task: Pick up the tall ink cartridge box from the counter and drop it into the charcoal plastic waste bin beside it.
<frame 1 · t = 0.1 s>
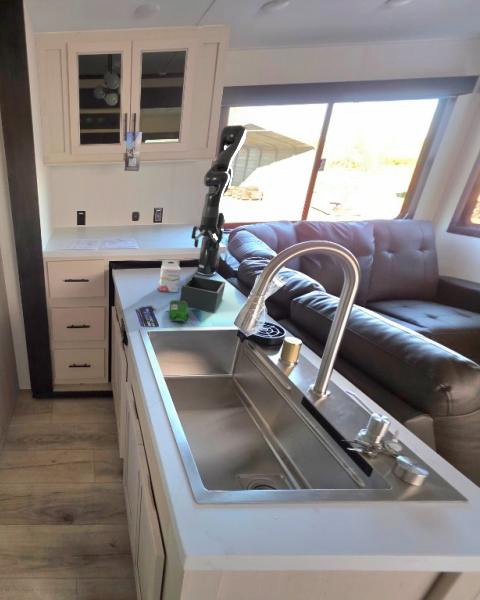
hand: (204, 248, 158), 17 cm above the counter, tool pointing down, fingers open, 8 cm apart
snack package: (177, 317, 126), on the counter
waste bin: (200, 302, 139), on the counter
ink cartridge box: (168, 290, 153), on the counter
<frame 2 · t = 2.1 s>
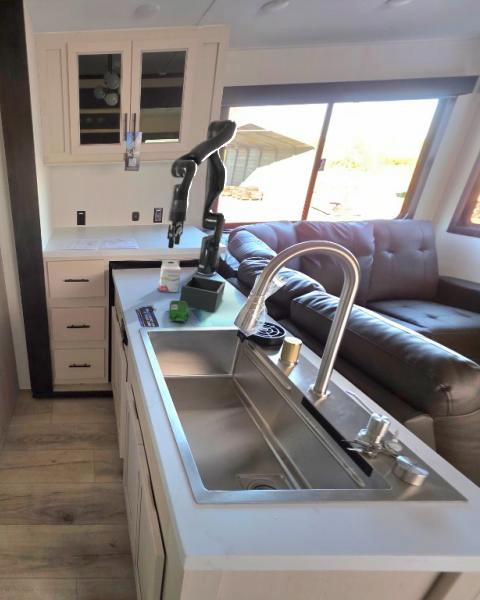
hand: (173, 246, 144), 22 cm above the counter, tool pointing down, fingers open, 8 cm apart
nothing on the counter moved.
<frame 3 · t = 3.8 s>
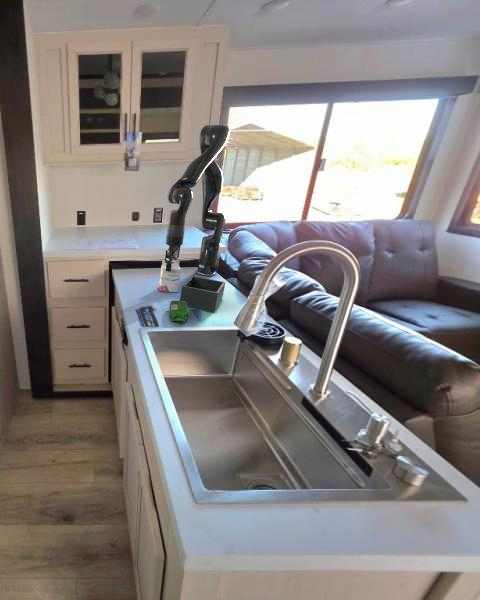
hand: (170, 269, 148), 11 cm above the counter, tool pointing down, fingers closed on ink cartridge box, 6 cm apart
ink cartridge box: (168, 290, 153), on the counter, touching gripper
everything else where it was.
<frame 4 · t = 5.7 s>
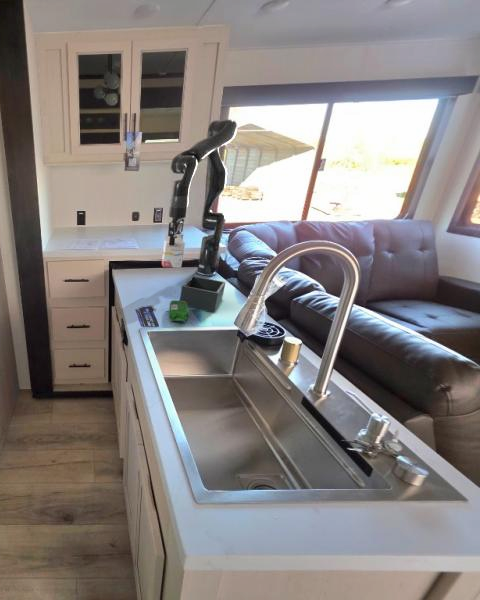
hand: (174, 243, 143), 23 cm above the counter, tool pointing down, fingers closed on ink cartridge box, 6 cm apart
ink cartridge box: (171, 266, 148), point 12 cm above the counter, touching gripper
everything else where it was.
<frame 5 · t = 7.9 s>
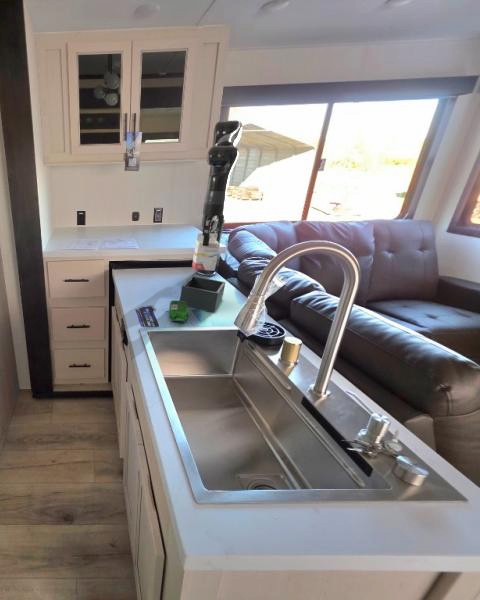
hand: (207, 243, 130), 26 cm above the counter, tool pointing down, fingers closed on ink cartridge box, 6 cm apart
ink cartridge box: (203, 269, 135), point 15 cm above the counter, touching gripper
everything else where it was.
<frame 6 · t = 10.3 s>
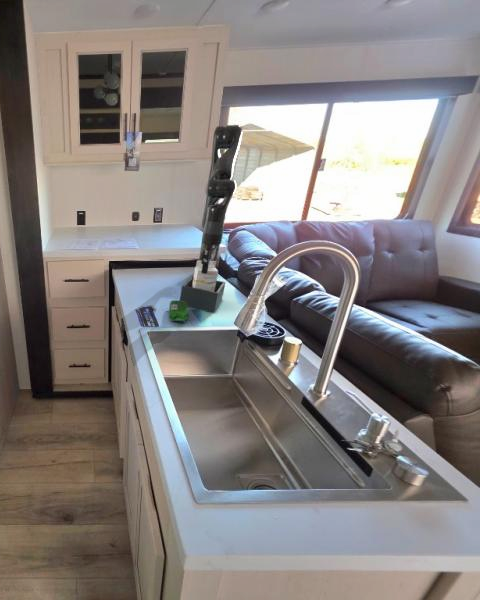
hand: (206, 270, 134), 15 cm above the counter, tool pointing down, fingers closed on ink cartridge box, 6 cm apart
ink cartridge box: (202, 294, 138), point 4 cm above the counter, touching gripper
everything else where it was.
when the fingers open (12 cm above the counter, at t = 12.0 s): ink cartridge box stays where it is, resting on waste bin.
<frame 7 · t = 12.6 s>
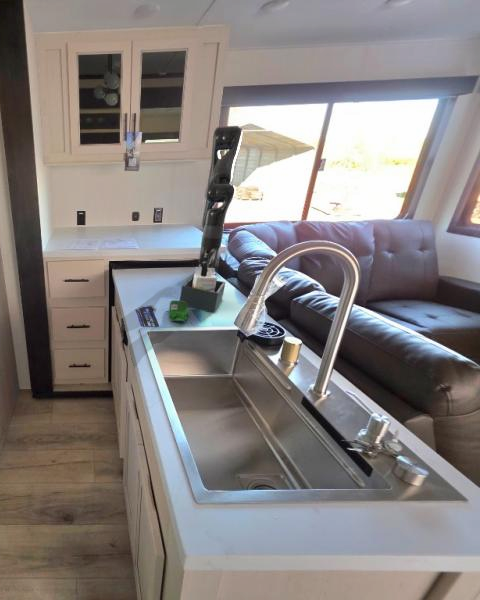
hand: (205, 273, 134), 14 cm above the counter, tool pointing down, fingers open, 8 cm apart
ink cartridge box: (201, 301, 139), point 1 cm above the counter, touching waste bin
everything else where it was.
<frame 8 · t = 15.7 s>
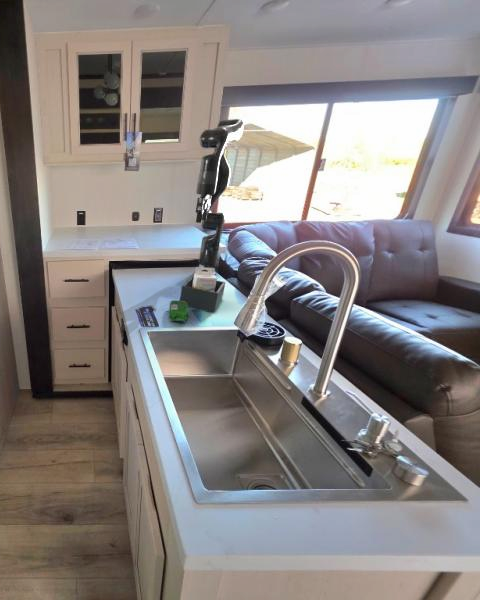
hand: (201, 221, 139), 33 cm above the counter, tool pointing down, fingers open, 8 cm apart
nothing on the counter moved.
at the end: ink cartridge box inside the target area in the waste bin (0.1 cm from its centre), point 0.6 cm above the waste bin's base; the gripper is holding nothing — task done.
